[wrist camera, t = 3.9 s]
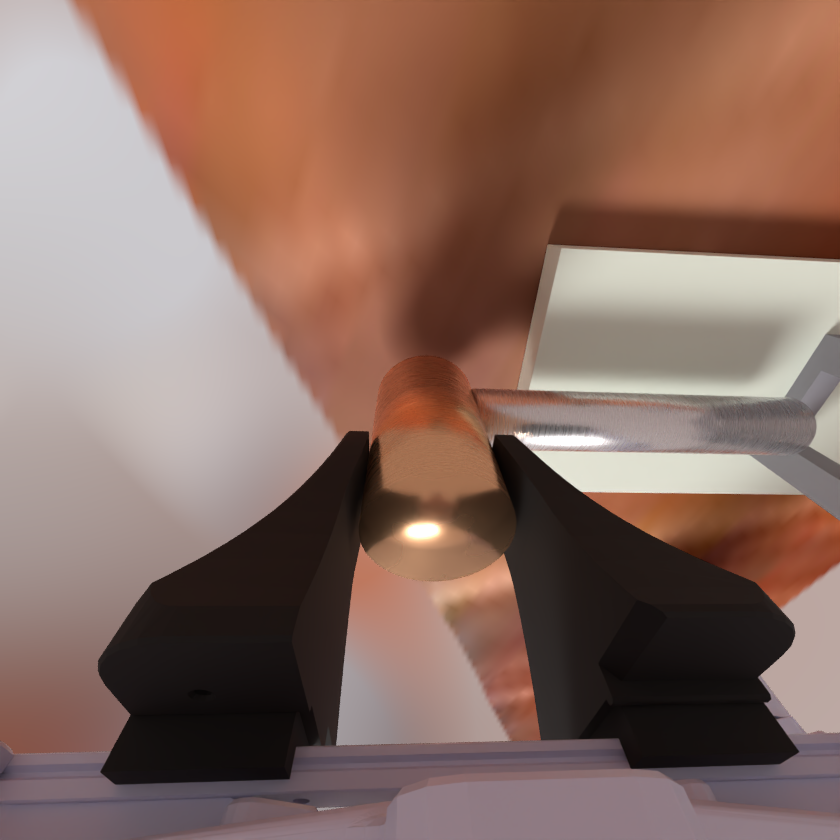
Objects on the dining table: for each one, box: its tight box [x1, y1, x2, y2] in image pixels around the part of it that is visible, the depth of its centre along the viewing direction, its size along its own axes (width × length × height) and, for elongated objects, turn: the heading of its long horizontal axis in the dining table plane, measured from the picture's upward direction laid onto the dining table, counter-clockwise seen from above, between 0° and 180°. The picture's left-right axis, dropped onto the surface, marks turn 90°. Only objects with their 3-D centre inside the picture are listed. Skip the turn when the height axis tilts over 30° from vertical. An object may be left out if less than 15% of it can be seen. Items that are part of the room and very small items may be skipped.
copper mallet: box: [359, 356, 817, 581], centre depth 12 cm, size 4×17×7 cm, turn 87°
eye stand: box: [517, 244, 840, 520], centre depth 15 cm, size 12×20×8 cm, turn 87°
